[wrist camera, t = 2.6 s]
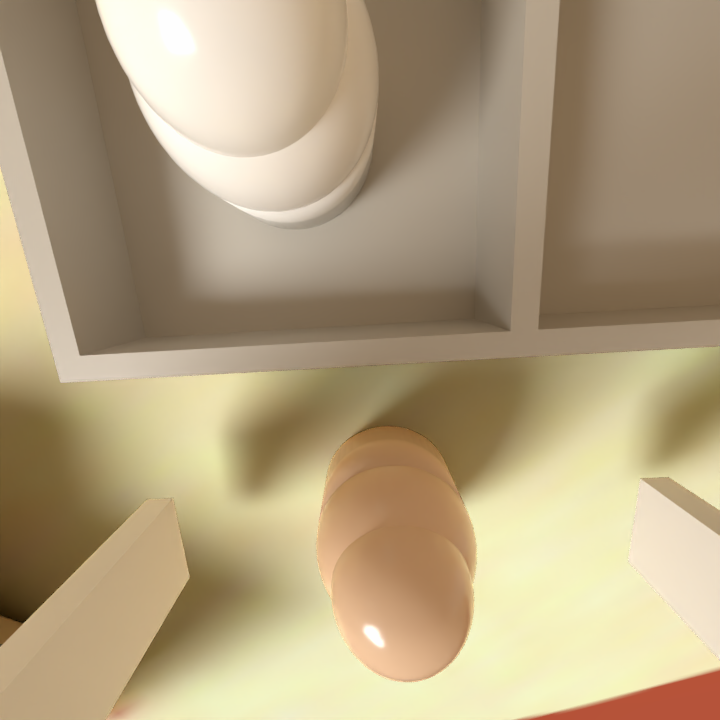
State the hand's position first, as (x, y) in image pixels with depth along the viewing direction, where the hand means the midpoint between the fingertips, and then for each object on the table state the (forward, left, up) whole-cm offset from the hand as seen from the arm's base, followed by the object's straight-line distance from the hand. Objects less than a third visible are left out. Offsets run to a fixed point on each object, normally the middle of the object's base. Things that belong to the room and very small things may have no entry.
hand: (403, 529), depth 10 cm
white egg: (-2, +11, -2) cm, 11 cm away
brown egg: (0, 0, -2) cm, 2 cm away
